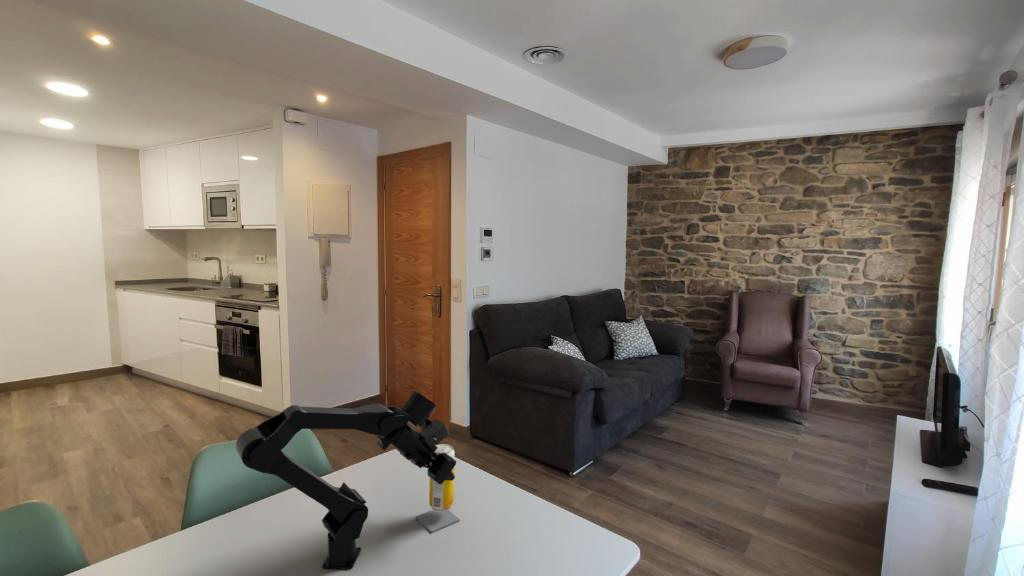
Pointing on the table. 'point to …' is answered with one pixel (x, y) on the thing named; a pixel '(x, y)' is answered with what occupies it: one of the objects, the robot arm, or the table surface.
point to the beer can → (442, 485)
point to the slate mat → (437, 519)
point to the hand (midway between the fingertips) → (446, 473)
